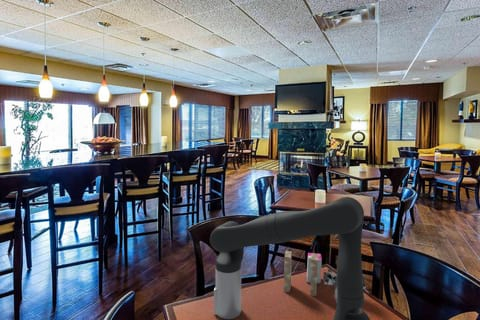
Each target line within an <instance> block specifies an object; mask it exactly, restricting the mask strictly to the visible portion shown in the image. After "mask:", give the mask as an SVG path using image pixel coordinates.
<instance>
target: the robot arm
mask: <svg viewBox="0 0 480 320" xmlns="http://www.w3.org/2000/svg"><path fill="white" fill-rule="evenodd" d="M364 217H365V210H364V207H363V206H362V204H361V203H360V201H358V200H357V199H356V198H354V197H351V196H350V197H349V196H343V197H340V198H338V199H336V200H334V201H332V202H330V203H328V204H325V205H321V206H318V207H316V208H312V209H308V210H285V211H279V212H274V213H269V214H266V215H263V216H260V217H257V218H255V219H253V220H250V221H249V222H246V223H243V224H239V222H237V221H233V220H229V221H226V222H225V223H222V224H221V225H218V226H217V227H216V228H214V229H213V230H212V231H211V233H210V236H209V243H210V245H211V247H212V248H213V250H215V251H217V252H219V254H218V255H217V257H216V258H215V261H214V262H215V263H214V264H215V267H214V268H215V287H214V289H213V315H215V316H217V317H218V318H220V319H224V320H232V319H236V318H237V317H239V316H240V315H241V313H242V262H243V259H244V255H245V254H244V250H245V248H248V247H256V246H266V245H274V244H283V243H288V242H291V241H297V240H302V239H305V238H308V237H313V236H328V235H329V236H330V235H338V256H337V263H336V273H334V272H333V268H332V267H330V268H328V269H327V272H326V271H324V272H323V277H322V281H323V285H324V287H329V286H332V287H333V291H334V299H335V302H336V309H335V313H334V316H333V320H371V318H370V317H369V316H368V314H367V313H366V311H365V310H364V308H363V306H364V305H365V295H364V293H365V292H366V286H367V285H366V284H367V283H366V280H365V276H363V265H362V264H363V262H362V261H363V260H362V239H363V238H362V235H363V225H364Z"/></svg>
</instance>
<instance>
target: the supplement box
mask: <svg viewBox="0 0 480 320" xmlns="http://www.w3.org/2000/svg"><path fill="white" fill-rule="evenodd" d="M312 253H313V254H316V253H314V252H308V253H307V265H306V284H310V285H311V255H312ZM317 254H318V264H317V285H321V279H322V278H321V277H322V263H323V262H322V260H323V259H322V254H321V253H317Z"/></svg>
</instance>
